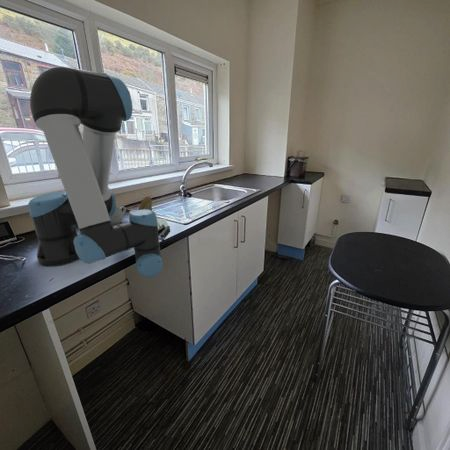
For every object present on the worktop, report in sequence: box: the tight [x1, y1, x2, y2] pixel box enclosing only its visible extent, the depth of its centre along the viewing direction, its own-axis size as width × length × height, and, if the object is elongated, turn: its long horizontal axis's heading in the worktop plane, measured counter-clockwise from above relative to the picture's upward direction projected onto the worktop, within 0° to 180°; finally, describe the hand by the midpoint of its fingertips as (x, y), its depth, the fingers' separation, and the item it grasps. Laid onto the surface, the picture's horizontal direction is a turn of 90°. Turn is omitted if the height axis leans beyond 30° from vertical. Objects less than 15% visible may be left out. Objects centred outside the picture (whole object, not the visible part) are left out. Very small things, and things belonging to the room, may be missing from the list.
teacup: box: [110, 205, 127, 226], centre depth 121 cm, size 14×11×8 cm
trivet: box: [157, 218, 169, 229], centre depth 118 cm, size 13×17×1 cm
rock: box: [137, 196, 153, 211], centre depth 136 cm, size 11×9×10 cm
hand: (143, 225), depth 102 cm, fingers open, 13 cm apart
